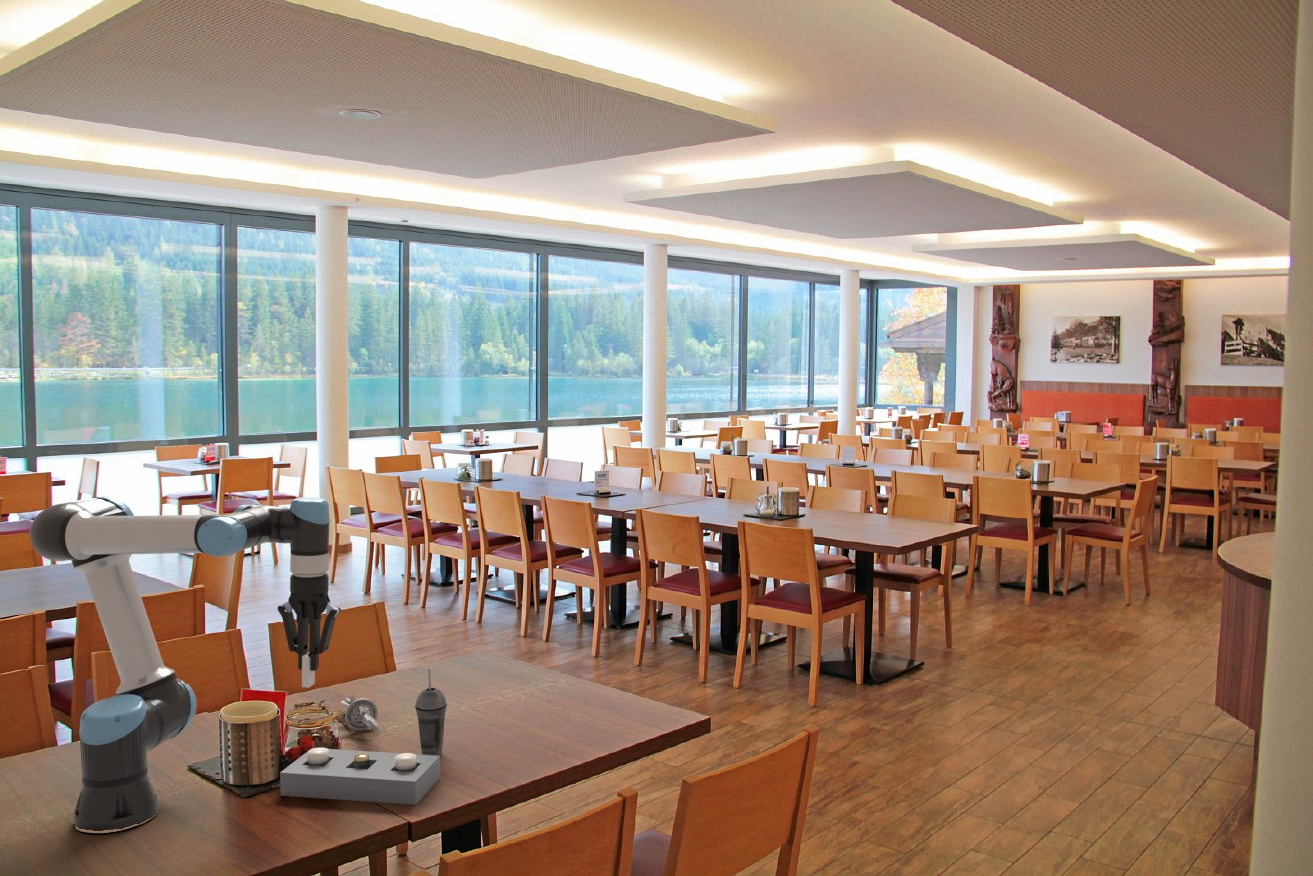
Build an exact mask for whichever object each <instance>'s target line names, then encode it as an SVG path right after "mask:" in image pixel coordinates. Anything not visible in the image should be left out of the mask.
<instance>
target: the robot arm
mask: <svg viewBox="0 0 1313 876" xmlns="http://www.w3.org/2000/svg"><path fill="white" fill-rule="evenodd" d="M329 506H330V504H329V501H328V500H327V499H325V498H323V497H316V496H315V497H313V496H312V497H308V496H306V497H296V498H294V499H292V500H291V502H290V506H276V505H264V504H259V503H258V504H257V503H254V504H242V505H238V507H237V508H236V509H235V510H234V511H233V512H232V513H228V514H227V513H226V514H225V513H224V514H172V515H169V514H166V515H165V514H162V515H134V513H133V510H131V508H130V507H129V506H128V505H127V504H126V503H125V502H123V501H122V500H119V499H117V498H115V497H112V496H93V497H88V498H84V499H79V500H78V499H77V500H74V501H73V500H72V501H68V502H64V503H57V504H54V505H51V506H49V507H47V508H45V509H43V510H41V512H39V513H38V514H37V515H36V516H35V518H34V519H33V521H32V523H31V524H30V528H29V534H28V535H29V541H30V543H31V546H32V547H33V550H34V551H35V552H36V553H37V554H38V555H39V556H41V557H42V558H44V559H47V560H50V561H53V562H65V561H71V563H72V566H73V569H74V570H75V571H77V572H79V573H83V574H84V576H85V578H86V581H87V584H88V587H89V590H90V593H91V596H92V599H93V603H94V605H95V608H96V611H97V613H98V617H99V619H100V623H101V626H102V629H103V631H104V634H105V638H106V640H107V644H108V646H109V650H110V652H111V654H112V658H113V661H114V665H115V667H116V671H117V672H118V675H119V678H120V683H119V686H118V687H117V689H116V692H115V693H116V695H112V696H110V697H109V698H102V699H100V700H97V701H96V702H94V703H91V704H90V705H89V706H88V707H86V708H85V709H84V710H83V712H82V714H81V716H80V718H79V719H80V722H79V730H78V735H79V742H80V763H81V779H82V780H81V781H82V782H81V783H82V785H81V789H80V792H79V795H78V798H77V802H76V805H75V808H74V812H73V825H74V824H75V826H76V827H78V828H79V829H85V830H93V831H103V830H110V829H111V830H113V829H123V828H125V827H129V826H132V825H134V824H140V823H142V822H144V821H146V820H147V819H150V818H152V817H153V816H154V815H156V814H157V813H158V814H159V812H158V810H159V811H160V807H159V803H160V802H159V798H158V795H157V794H156V793H155V789H154V787H153V785H152V781H151V779H150V776H149V774H148V773H149V772H148V769H149V768H148V753H149V752H150V751H152V750H153V749H156V748H157V747H159V746H160V745H162V744H163V743H165V742H167V741H169V740H171V739H174V738H176V737H177V736H179V734H181V733H182V732H183V731H184V730H186V729H187V728H188V727H189V726H190V724H191V723H192V722H193V719H194V718H195V715H196V712H197V698H196V695H195V693H194V690H193V689H192V687H191V686H190V685H189V684H188V683H185V681H184V680H182V679H179V678H178V676H177V674H176V670H174V669H172V668H169V667H167V666H165V664H164V661H163V658H162V655H161V653H160V649H159V647H158V643H157V640H156V638H155V634H154V632H153V628H152V626H151V622H150V620H149V617H148V614H147V610H146V607H145V604H144V602H143V599H142V595H141V592H140V590H139V586H138V583H137V581H136V577H135V575H134V572H133V570H132V566H131V564H130V558H131V557H132V555H146V554H147V555H148V554H149V555H150V554H151V555H153V554H154V555H155V554H156V555H158V554H160V555H161V554H207V555H208V556H211V557H214V558H215V557H216V558H221V557H226V556H232V555H234V554H236V553H239V552H241V551H244V550H247V549H249V548H254V547H256V546H259V545H261V544H265V543H275V544H277V543H278V544H289V548H290V550H289V551H290V556H289V557H290V561H289V562H290V563H289V565H290V566H289V572H290V573H292V574H291V575H290V576H289V591H290V596H289V597H288V601H286V602H284V603H282V604H279V605H278V606H277V611H278V613H279V614H280V616H281V619H282V623H283V628H284V632H285V637H286V641H287V642H286V643H287V646H288V649H289V652H291V653H292V652H294V653H296V654H297V657H298V659H297V660H298V661H297V662H298V663H297V665H298V670H299V671H301V688H307V689H308V688H310V687H312V686H313V685H315V684H316V683H315V681H316V671H317V670H319V665H320V655H321V654H323V653H325V652H327V651H328V650H329V646H330V643H331V639H332V635H333V631H334V627H335V623H336V620H337V619H336V618H337V617H338V616H339V615H340V613H341V611H342V609H341V607H340V606H335V605H333V604H332V603H331V599H330V596H329V587H330V586H329V583H330V582H329V581H330V579H329V577H330V575H329V574H328V573H327V572H328V571H329V570H330V569H329V568H330V565H329V563H330V558H329V557H330V548H329V547H330V546H329V543H330V542H329V541H330V523H331V519H330V507H329ZM293 611H294V612H293ZM324 612H325V615H326V617H325V619H324V624H323V628H322V632H321V622H322V615H323V614H324ZM294 613H295V614H296V621H295V615H294ZM296 623H297V625H296ZM158 814H157V815H158ZM157 815H156V816H157Z"/></svg>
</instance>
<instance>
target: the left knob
mask: <svg viewBox="0 0 1313 876" xmlns="http://www.w3.org/2000/svg"><path fill="white" fill-rule="evenodd" d="M313 748H314V749H312V748H310V749H311V750H310V749H309V750H308V751H307V760H308V763H309V764H310V766H325V765H326V762H327V761H328V760H329V750H328V749H329V748H327V747H313Z"/></svg>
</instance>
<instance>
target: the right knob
mask: <svg viewBox="0 0 1313 876" xmlns="http://www.w3.org/2000/svg"><path fill="white" fill-rule="evenodd" d="M414 767H416V755H415V753H413V752H412V753H411V752H404V753H403V752H402V754H399V755H397V756H396V757H395V768H396V769H398V771H402V772H413V768H414Z"/></svg>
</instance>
